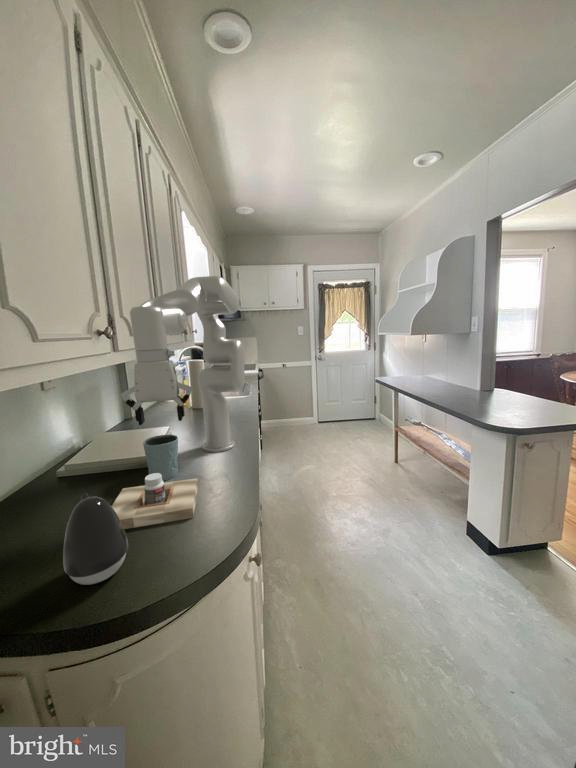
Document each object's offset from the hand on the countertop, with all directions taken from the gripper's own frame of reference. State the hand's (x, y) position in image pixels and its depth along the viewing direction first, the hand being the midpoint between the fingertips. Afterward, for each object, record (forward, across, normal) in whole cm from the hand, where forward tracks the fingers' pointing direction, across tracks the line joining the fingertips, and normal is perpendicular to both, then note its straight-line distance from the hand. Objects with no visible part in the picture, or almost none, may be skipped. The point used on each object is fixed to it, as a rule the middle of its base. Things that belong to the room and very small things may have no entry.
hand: (161, 421), depth 79 cm
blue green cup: (+22, +4, -15) cm, 27 cm away
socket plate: (+22, +3, +4) cm, 22 cm away
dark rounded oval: (+21, +9, +25) cm, 34 cm away
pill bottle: (+22, +3, +4) cm, 22 cm away
